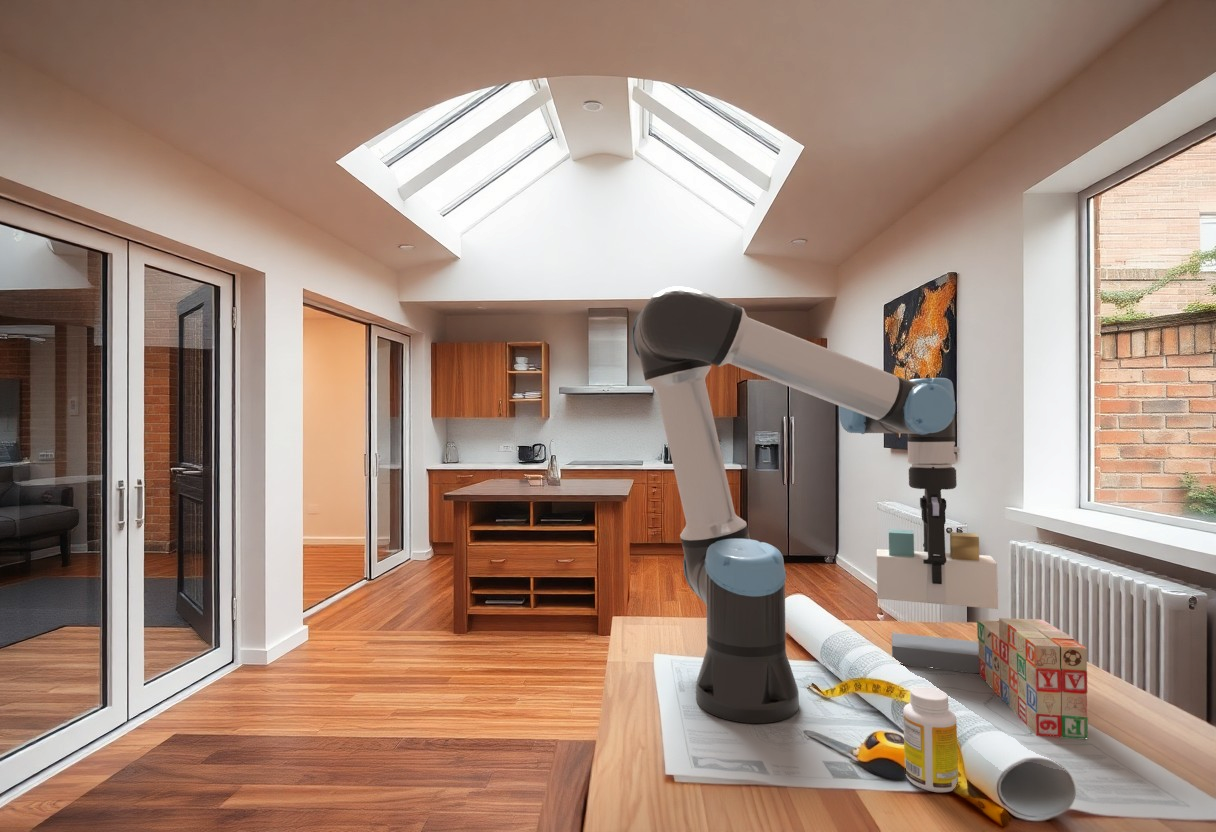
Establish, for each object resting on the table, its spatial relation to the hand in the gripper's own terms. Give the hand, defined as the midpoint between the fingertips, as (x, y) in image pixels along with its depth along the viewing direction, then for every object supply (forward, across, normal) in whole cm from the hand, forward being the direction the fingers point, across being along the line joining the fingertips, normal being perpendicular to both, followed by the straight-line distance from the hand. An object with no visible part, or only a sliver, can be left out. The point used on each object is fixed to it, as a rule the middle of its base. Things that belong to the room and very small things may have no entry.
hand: (935, 596), depth 113 cm
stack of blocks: (+12, -14, -11) cm, 22 cm away
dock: (+11, 0, 0) cm, 11 cm away
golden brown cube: (-7, 0, -5) cm, 8 cm away
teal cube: (-7, 0, +5) cm, 9 cm away
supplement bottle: (+11, -43, +4) cm, 45 cm away
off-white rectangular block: (0, 0, 0) cm, 0 cm away
